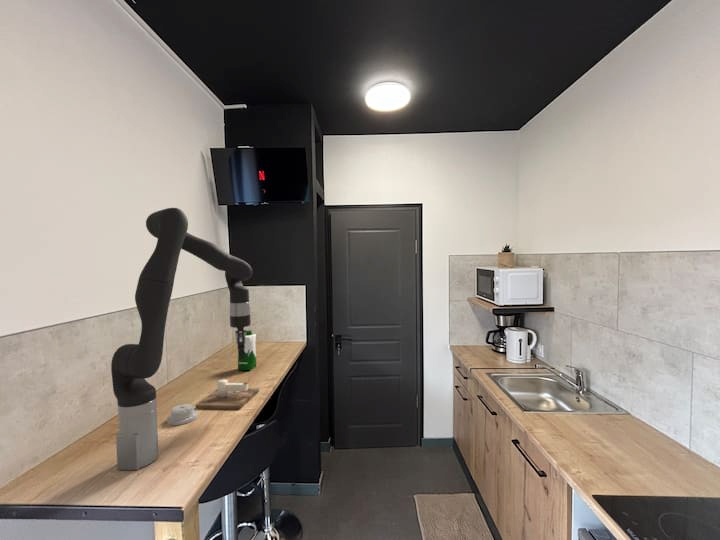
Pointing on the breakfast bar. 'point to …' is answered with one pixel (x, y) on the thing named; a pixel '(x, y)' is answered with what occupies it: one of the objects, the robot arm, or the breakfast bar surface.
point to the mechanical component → (182, 414)
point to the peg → (230, 387)
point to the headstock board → (227, 400)
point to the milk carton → (248, 352)
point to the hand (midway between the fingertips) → (241, 358)
